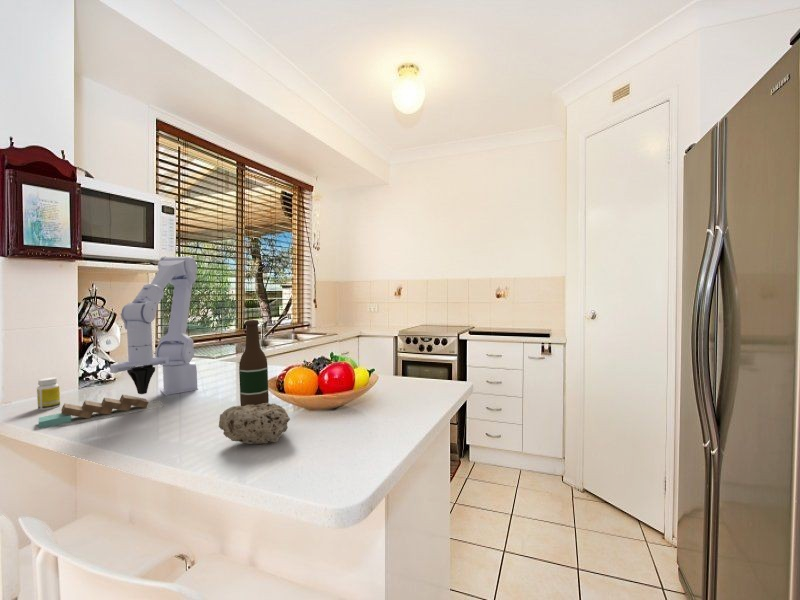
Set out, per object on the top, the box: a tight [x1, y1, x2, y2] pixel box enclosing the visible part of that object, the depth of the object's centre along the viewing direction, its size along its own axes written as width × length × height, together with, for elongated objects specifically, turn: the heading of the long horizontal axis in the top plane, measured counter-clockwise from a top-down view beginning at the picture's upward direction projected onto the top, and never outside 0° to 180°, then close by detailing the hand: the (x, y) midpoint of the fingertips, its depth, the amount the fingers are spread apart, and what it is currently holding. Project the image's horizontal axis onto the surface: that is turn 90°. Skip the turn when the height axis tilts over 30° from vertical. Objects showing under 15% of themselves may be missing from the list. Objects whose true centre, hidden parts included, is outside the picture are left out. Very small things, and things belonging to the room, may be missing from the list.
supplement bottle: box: [36, 376, 61, 411], centre depth 112 cm, size 5×5×8 cm
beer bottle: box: [238, 319, 270, 406], centre depth 108 cm, size 8×8×24 cm
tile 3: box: [81, 400, 112, 415], centre depth 104 cm, size 2×5×6 cm
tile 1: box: [119, 393, 150, 408], centre depth 109 cm, size 2×5×6 cm
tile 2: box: [101, 397, 131, 411], centre depth 107 cm, size 2×5×6 cm
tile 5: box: [38, 412, 72, 429], centre depth 99 cm, size 2×5×6 cm
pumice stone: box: [218, 402, 291, 445], centre depth 84 cm, size 14×12×8 cm
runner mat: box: [60, 399, 165, 427], centre depth 106 cm, size 22×8×1 cm, turn 131°
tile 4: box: [60, 402, 93, 418], centre depth 101 cm, size 2×5×6 cm
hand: (142, 393), depth 111 cm, fingers closed
